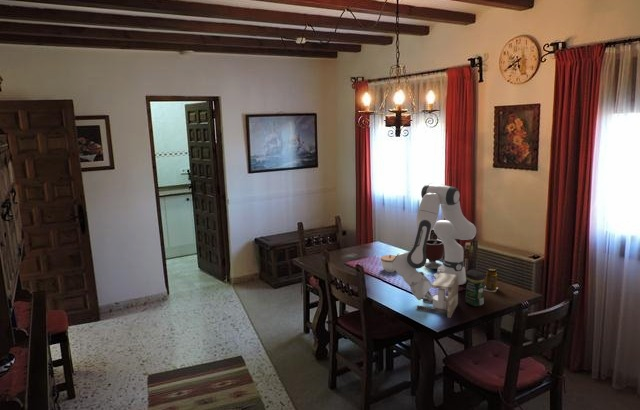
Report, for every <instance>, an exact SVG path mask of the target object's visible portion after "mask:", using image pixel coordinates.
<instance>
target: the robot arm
mask: <svg viewBox="0 0 640 410" xmlns="http://www.w3.org/2000/svg"><path fill="white" fill-rule="evenodd" d="M420 193H421V195H420V196H421V201H420V203H419V206H418V208H417V209H418V210H417V214H416V228H417V231H416V235H415V241H414V245H413V247H412V248H411V250H410V251H407V252H403V253H397V254H396V255H395V256H396V257H395V258H394V259H393V261H392V266H393V268H394V269H395V272H396V273H397V274H398V275H399V276H400V277H401V278H402V279H403V281H404V282H405V283H406V284H407V285H408V287H410V292H411V293H412V295H413V296H414V297H415V298H416V299H417V300H418V301H421V300H423V297H424V298H427V299H429V300H430V301H431V300H432V299H433V295H432V292H431V291H430V289H431V288H432V284H433V283H432V282H431V281H430V280H429V278H428V277H427V276H425V273H424V272H423V271H418V269H421V268H423V267H425V266H424V265H425V263H427V260H428V259H427V258H426V253H425V250H426V245H427V241H428V240H429V237H430V234H431V233H432V232H431V231H432V230H433V232H434V234H435V235H436V236H437V237H439V239H440V241H442V242H443V245H444V258H443V259H442V261H443V262H442V263H441V264H442V265H441V266H440V267H438V268H437V271H436V273H433V277H434V278H435V279H436V278H437V277H438V275H439V274H440V273H445V274H454V275H458V286H460V285H462V286H463V285H464V284H466V283H467V281H466V273H467V272H466V268H465V261H464V260H465V259H464V248H463V246H462V245H461V244H460V243H458V242H457V240H462V241H465V240H467V241H468V240H469V241H470V240H473V239H474V238H475V237H476V235H477V227H476V225H475V224H474V223H472V222H471V221H469V220H468V219H467V218H466V217H465V216H464V213H463V212H462V211H463V210H462V208H461V203H460V198H461V192H460V190H459V189H458V188H457V187H455V186H449V185H446V184H435V183H434V184H433V183H427V184H425V185H424V186H423V187H422V188H421V192H420ZM440 210H441V215H442V217H443V218H444V219H439V220H438V216H439V213H440Z"/></svg>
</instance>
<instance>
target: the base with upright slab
mask: <svg viewBox="0 0 640 410" xmlns="http://www.w3.org/2000/svg"><path fill="white" fill-rule="evenodd" d="M432 296H433V295H432ZM432 308H437V309H443V310H448V295H446V289H439V288H437V294H435V295H434V296H433V303H432Z"/></svg>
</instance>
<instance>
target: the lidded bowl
mask: <svg viewBox="0 0 640 410" xmlns="http://www.w3.org/2000/svg"><path fill="white" fill-rule="evenodd" d="M396 256H397V255H393V254H386V255H382V256H381V257H380V265H381V267H382V269H383V270H384V271H385V272H387V273H394V272H396V270H395V269H394V268H393V266H392V261H393V259H394V258H395V257H396Z"/></svg>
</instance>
